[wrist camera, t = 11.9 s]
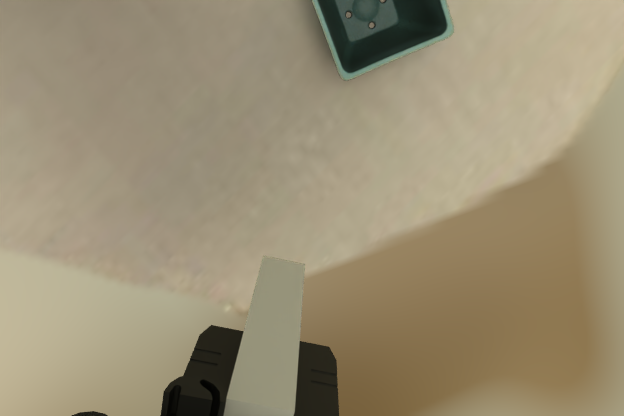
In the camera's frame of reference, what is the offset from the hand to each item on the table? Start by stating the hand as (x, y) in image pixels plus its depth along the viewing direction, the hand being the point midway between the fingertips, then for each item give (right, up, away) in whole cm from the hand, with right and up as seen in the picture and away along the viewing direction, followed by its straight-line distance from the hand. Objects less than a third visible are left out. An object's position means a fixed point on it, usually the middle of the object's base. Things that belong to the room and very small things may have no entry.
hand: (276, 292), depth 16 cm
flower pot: (+6, +21, +23) cm, 32 cm away
